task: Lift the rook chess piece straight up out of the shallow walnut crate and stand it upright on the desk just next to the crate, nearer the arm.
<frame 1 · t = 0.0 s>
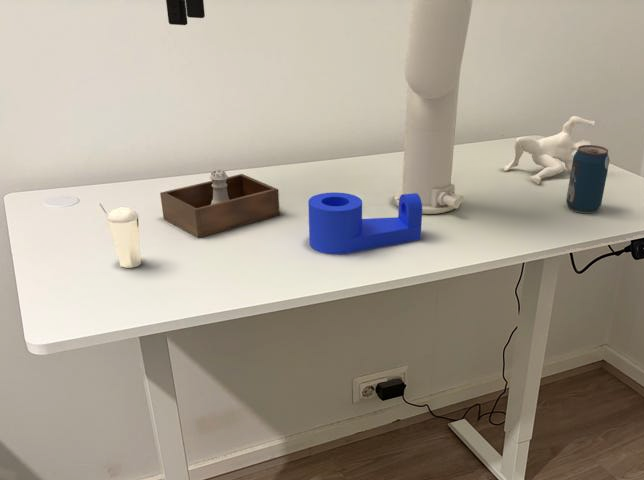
hand: (187, 20, 132), 31 cm above the table, tool pointing down, fingers open, 9 cm apart
bracket: (365, 240, 129), on the table
soda can: (582, 209, 148), on the table
milkshake: (128, 265, 117), on the table
rook chess piece: (222, 215, 136), resting on crate
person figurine: (548, 174, 167), on the table
crate: (222, 216, 136), on the table
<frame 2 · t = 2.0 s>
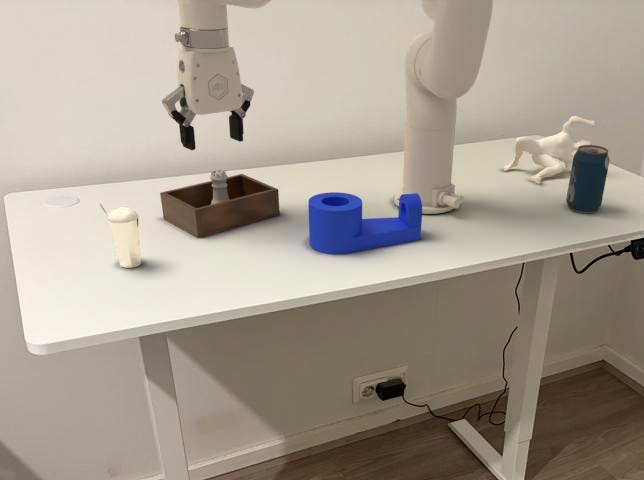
hand: (213, 143, 129), 14 cm above the table, tool pointing down, fingers open, 9 cm apart
nothing on the table moved.
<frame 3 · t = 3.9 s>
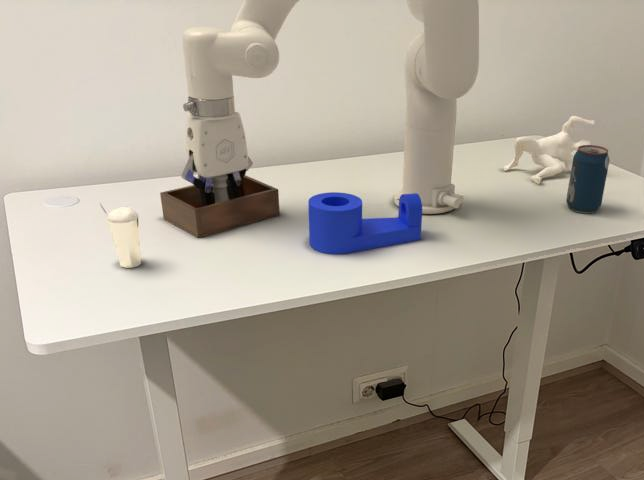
hand: (221, 207, 135), 2 cm above the table, tool pointing down, fingers closed on rook chess piece, 4 cm apart
rook chess piece: (222, 215, 136), resting on crate, touching gripper
everything else where it was.
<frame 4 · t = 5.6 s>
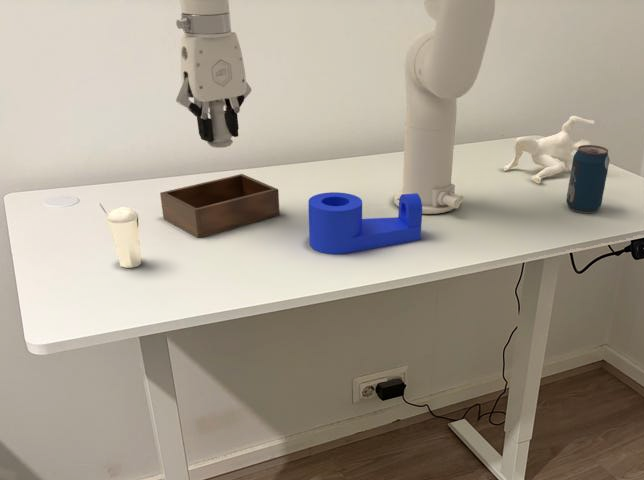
hand: (219, 136, 129), 15 cm above the table, tool pointing down, fingers closed on rook chess piece, 4 cm apart
rook chess piece: (220, 145, 129), point 13 cm above the table, touching gripper
everything else where it was.
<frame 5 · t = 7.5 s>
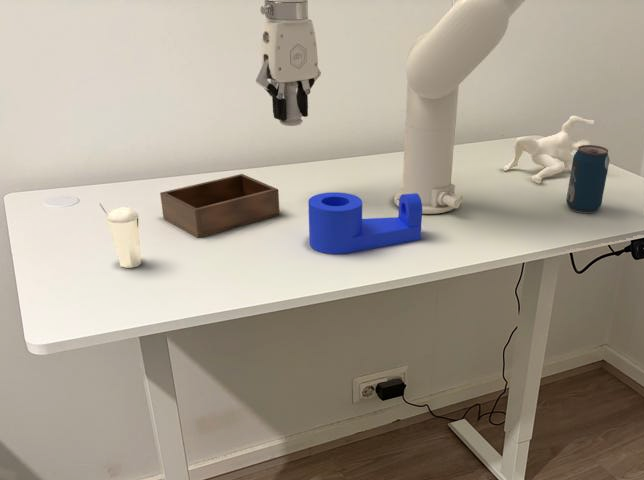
hand: (290, 116, 139), 16 cm above the table, tool pointing down, fingers closed on rook chess piece, 4 cm apart
rook chess piece: (291, 124, 140), point 14 cm above the table, touching gripper
everything else where it was.
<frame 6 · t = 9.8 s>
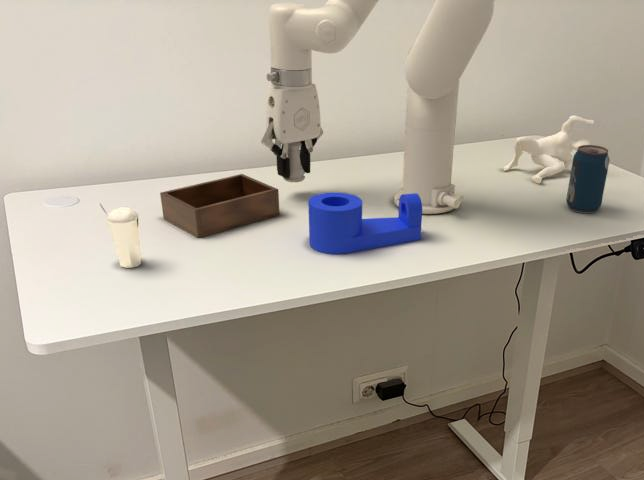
hand: (294, 173, 145), 5 cm above the table, tool pointing down, fingers closed on rook chess piece, 4 cm apart
rook chess piece: (294, 180, 146), point 3 cm above the table, touching gripper
everything else where it was.
when the fingers open (1 cm above the table, at t = 11.0 s): rook chess piece stays where it is, on the table.
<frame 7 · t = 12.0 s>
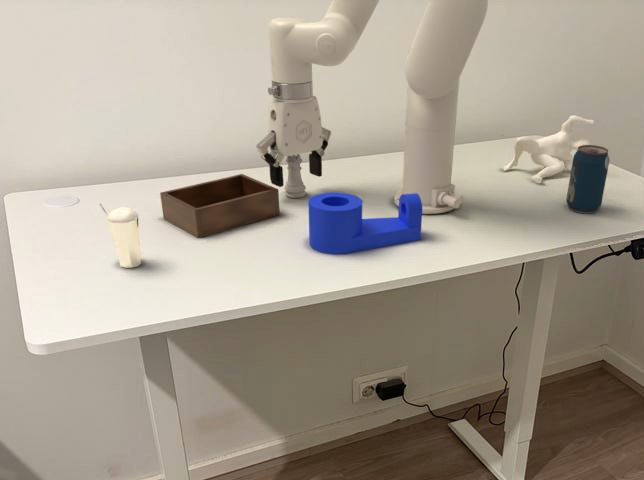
hand: (296, 179, 146), 3 cm above the table, tool pointing down, fingers open, 9 cm apart
rook chess piece: (295, 195, 148), on the table
everything else where it was.
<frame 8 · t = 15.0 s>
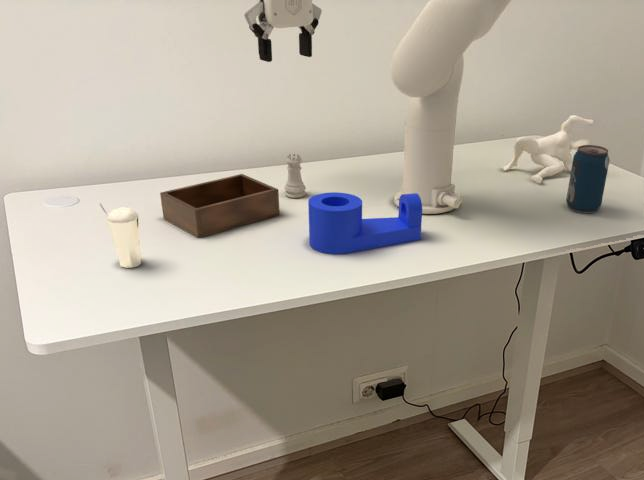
hand: (286, 58, 143), 24 cm above the table, tool pointing down, fingers open, 9 cm apart
nothing on the table moved.
at the end: rook chess piece inside the target area (0.1 cm from its centre), on the table; rook chess piece tilted 0°; the gripper is holding nothing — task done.
